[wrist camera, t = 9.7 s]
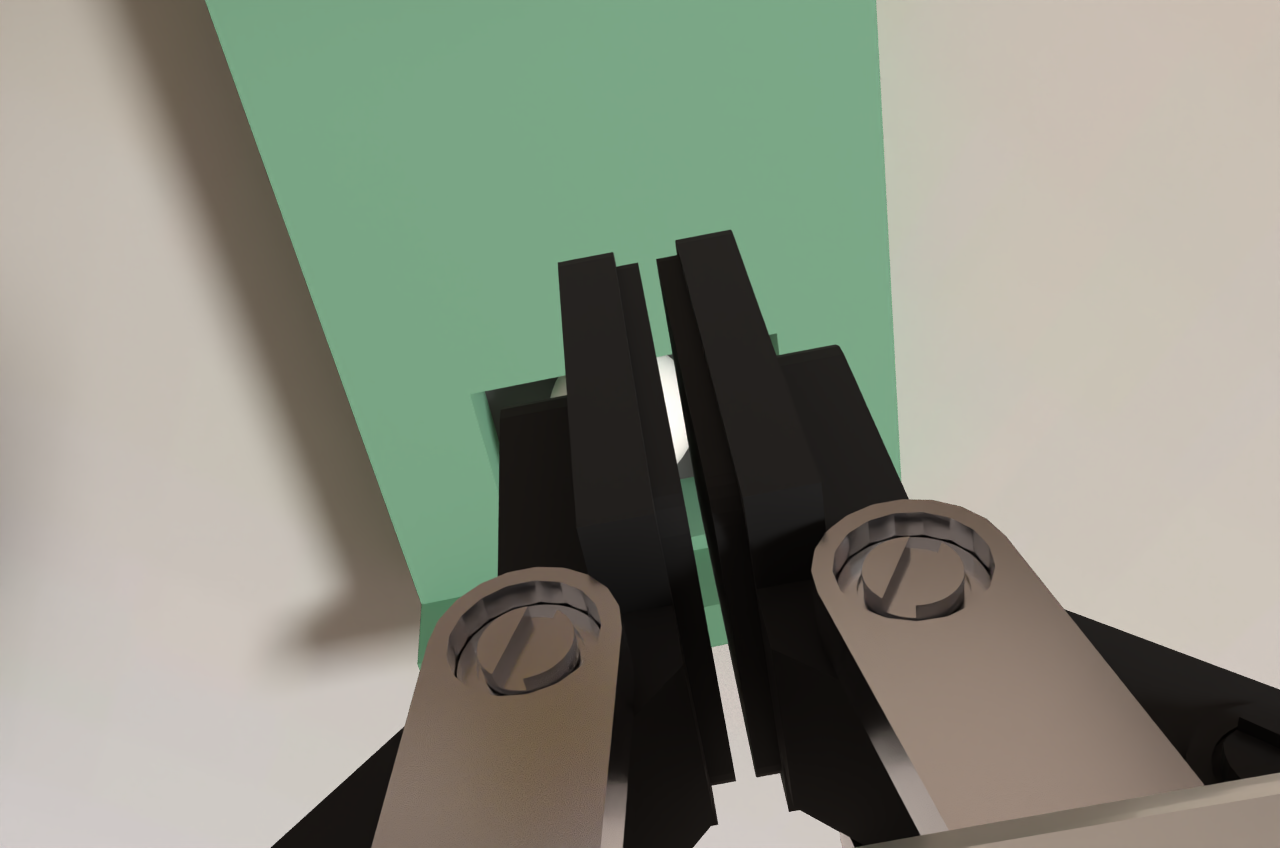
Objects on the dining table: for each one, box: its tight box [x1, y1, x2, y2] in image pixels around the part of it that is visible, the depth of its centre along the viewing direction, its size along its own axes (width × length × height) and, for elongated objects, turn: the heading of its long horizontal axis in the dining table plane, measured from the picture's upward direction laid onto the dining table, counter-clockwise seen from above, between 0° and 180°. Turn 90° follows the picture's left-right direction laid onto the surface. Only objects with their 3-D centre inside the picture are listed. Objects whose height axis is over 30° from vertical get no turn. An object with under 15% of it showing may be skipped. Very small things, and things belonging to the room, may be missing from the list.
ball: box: [550, 355, 689, 464], centre depth 32 cm, size 4×4×4 cm
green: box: [205, 0, 901, 670], centre depth 28 cm, size 14×24×5 cm, turn 10°
